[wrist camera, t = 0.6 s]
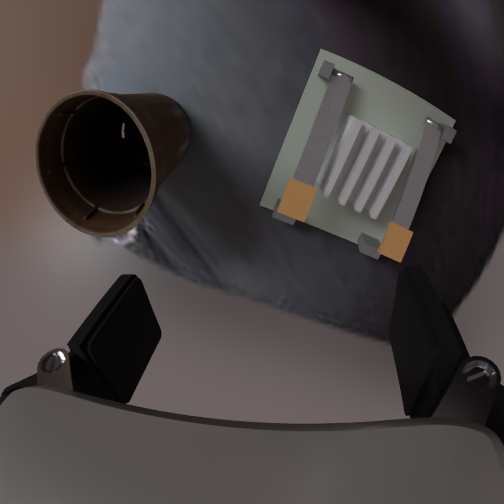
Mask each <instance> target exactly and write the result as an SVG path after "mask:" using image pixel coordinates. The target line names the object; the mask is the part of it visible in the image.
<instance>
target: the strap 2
mask: <svg viewBox="0 0 504 504" xmlns="http://www.w3.org/2000/svg"><path fill="white" fill-rule="evenodd" d="M442 131H443V126H442V125H440V124H439V123H437V122H436V121H434V120H432V119H431V118H429V117H428V116H426V117H425V119H424V121H423V127H422V130H421V133H420V137H419V140H418V143H417V146H416V150H415V153H414V156H413V159H412V162H411V165H410V168H409V171H408V174H407V177H406V179H405V182H404V185H403V188H402V191H401V193H400V196H399V199H398V201H397V204H396V207H395V209H394V212H393V215H392V217H391V220H390V222H389V225H388V227H387V230H386V232H385V234H384V237H383V239H382V242H381V244H380V246H379V249H378V251H377V252H378V253H380V254H382V255H384V256H386V257H389V258H391V259H393V260H396V261H398V262H400V263H401V261H402V258H403V256H404V254H405V251H406V249H407V247H408V244H409V242H410V239H411V237H412V235H413V232H412V231H410V230H409V227H410V225H411V222H412V220H413V217H414V215H415V212H416V209H417V207H418V204H419V201H420V198H421V196H422V193H423V190H424V187H425V184H426V181H427V178H428V175H429V172H430V169H431V166H432V163H433V159H434V156H435V153H436V150H437V146H438V143H439V139H440V136H441V132H442Z"/></svg>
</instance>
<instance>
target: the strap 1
mask: <svg viewBox="0 0 504 504" xmlns="http://www.w3.org/2000/svg"><path fill="white" fill-rule="evenodd" d="M353 80H354V77H353V76H351V75H348V74H346V73H344V72H342V71H339V70H337V69H335V68H334V70H333V72H332V74H331V78H330V80H329V83H328V86H327V88H326V91H325V94H324V96H323V99H322V102H321V104H320V107H319V110H318V112H317V115H316V117H315V120H314V123H313V125H312V128H311V131H310V133H309V136H308V139H307V141H306V144H305V146H304V149H303V152H302V154H301V157H300V159H299V162H298V165H297V167H296V170H295V173H294V175H293V178H289V181H288V184H287V186H286V189H285V191H284V194H283V197H282V199H281V202H280V204H279V207H278V209H277V212H279V213H281V214H284V215H287V216H289V217H292V218H294V219H297V220H299V221H302V222H305V219H306V217H307V214H308V212H309V209H310V207H311V204H312V202H313V199H314V197H315V194H316V191H317V188H315V187H314V185H315V182H316V179H317V177H318V174H319V172H320V169H321V166H322V164H323V161H324V158H325V156H326V153H327V150H328V148H329V145H330V142H331V140H332V137H333V134H334V132H335V129H336V126H337V123H338V121H339V118H340V115H341V112H342V110H343V107H344V104H345V101H346V99H347V96H348V93H349V90H350V87H351V84H352V82H353Z"/></svg>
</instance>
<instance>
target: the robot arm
mask: <svg viewBox="0 0 504 504" xmlns="http://www.w3.org/2000/svg"><path fill="white" fill-rule="evenodd" d="M389 337H390V342H391V346H392V351H393V355H394V360H395V364H396V369H397V374H398V379H399V384H400V390H401V395H402V401H403V406H404V412H405V415H406V416H408V415H410V419H398V420H397V419H396V420H384V421H373V422H372V421H371V422H354V423H328V424H327V423H326V424H286V423H261V422H244V421H233V420H222V419H213V418H204V417H196V416H189V415H182V414H176V413H170V412H164V411H158V410H152V409H147V408H142V407H137V406H132V405H127V404H126V403H128V402H129V401H130V399H131V397H132V395H133V393H134V391H135V389H136V387H137V385H138V383H139V381H140V379H141V377H142V375H143V373H144V371H145V369H146V367H147V365H148V363H149V360H150V358H151V356H152V355H153V353H154V350H155V349H156V346H157V345H158V343H159V341H160V339H161V329H160V326H159V324H158V322H157V319H156V317H155V314H154V312H153V309H152V307H151V304H150V302H149V299H148V296H147V294H146V291H145V289H144V286H143V283H142V281H141V279H139V278H138V277H137V276H136V275H134V274H130V275H128V274H127V275H121V276H120V277H119V278H118V279H117V280H116V282H115V283H114V284H113V285H112V286H111V288H110V289H109V290H108V291H107V293H106V294H105V295H104V296H103V298H102V299H101V300H100V301H99V303H98V304H97V305H96V306H95V308H94V309H93V310H92V312H91V313H90V314H89V316H88V317H87V318H86V320H85V321H84V322H83V323H82V325H81V326H80V328H79V329H78V330H77V331H76V333H75V334H74V336H73V337H72V338H71V340H70V341H69V342H68V344H67V345H68V346H69V348H70V350H71V351H70V352H69V353H68V352H67V351H66V350H65V349H62V348H57V349H54V350H51V351H49V352H47V353H46V354H45V355H44V356H43V357H42V358H41V359H40V361H39V363H38V367H37V373H36V374H34V375H32V376H30V377H27V378H26V379H23V380H21V381H19V382H17V383H15V384H12V385H11V386H9V387H7V388H5V389H4V391H3V392H2V395H1V397H0V504H504V386H503V385H501V384H500V382H501V375H500V371H499V369H498V367H497V366H496V365H495V364H494V363H493V362H492V361H491V360H489V359H487V358H485V357H481V356H473V357H470V356H469V353H468V351H467V349H466V346H465V344H464V341H463V339H462V337H461V334H460V332H459V330H458V328H457V326H456V324H455V321H454V319H453V317H452V315H451V313H450V311H449V309H448V307H447V305H446V303H445V302H444V301H440V300H439V298H438V296H437V294H436V292H435V290H434V288H433V286H432V284H431V282H430V280H429V278H428V276H427V274H426V272H425V270H424V269H423V267H422V265H406V266H405V267H404V270H400V271H399V274H398V282H397V288H396V295H395V301H394V307H393V312H392V318H391V323H390V328H389Z"/></svg>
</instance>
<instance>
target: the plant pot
mask: <svg viewBox="0 0 504 504" xmlns="http://www.w3.org/2000/svg"><path fill="white" fill-rule="evenodd" d="M123 122H124V123H125V129H124V133H125V138H122V134H121V131H122V123H123ZM140 139H142V140H143V143H140ZM189 142H190V126H189V122H188V119H187V116H186V114H185V113H184V112H183V111H182V110H181V108H180V107H179V105H178V104H177V103H176V102H175V101H174V100H173V99H171V98H169V97H167V96H165V95H161V94H157V93H144V94H122V95H120V94H116V93H106V92H103V91H99V90H81V91H76V92H73V93H71V94H69V95H66V96H64V97H63V98H62V99H60V100H59V101H57V103H55V104H54V105H53V106H52V107H51V108H50V110H49V111H48V112H47V114H46V115H45V117H44V119H43V121H42V123H41V125H40V128H39V131H38V135H37V140H36V150H35V151H36V152H35V153H36V167H37V173H38V177H39V181H40V184H41V186H42V188H43V191H44V193H45V195H46V197H47V199H48V200H49V202H50V204H51V205H52V207H53V208H54V209H55V211H56V212H57V213H58V214H59V215H60V216H61V217H62V218H63V219H64V220H65V221H66V222H67V223H69V224H70V225H71V226H73V227H74V228H76V229H78V230H79V231H81V232H83V233H86V234H89V235H92V236H96V237H114V236H119V235H122V234H124V233H127V232H128V231H130V230H132V229H133V228H134V227H136V226H137V225H138V224H139V223H140V222H141V220H142V219H143V218H144V216H145V215H146V214H147V212H148V210H149V209H150V206H151V204H152V202H153V199H154V196H155V195H156V193H157V191H158V190H159V187H160V185H161V183H162V182H163V181H164V180H165V179H166V177H167V176H168V175H169V174H170V173H171V172H172V170H173V169H174V168H175V167H176V166H177V164H178V163H179V162H180V161H181V160H182V159H183V157H184V156H185V154H186V152H187V149H188V146H189ZM142 162H145V163H150V164H151V166H145V165H143V164H142Z"/></svg>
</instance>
